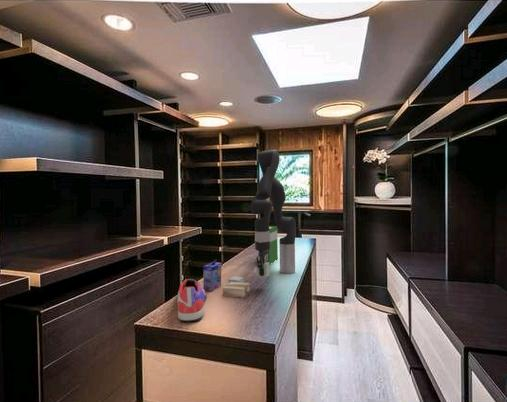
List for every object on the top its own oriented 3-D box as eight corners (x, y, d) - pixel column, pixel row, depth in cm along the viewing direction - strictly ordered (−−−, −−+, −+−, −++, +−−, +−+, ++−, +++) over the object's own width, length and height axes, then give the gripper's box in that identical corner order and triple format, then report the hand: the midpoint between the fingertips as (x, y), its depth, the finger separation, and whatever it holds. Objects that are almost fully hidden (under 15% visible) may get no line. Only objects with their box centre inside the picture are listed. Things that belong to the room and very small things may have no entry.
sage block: (260, 273, 147) (259, 261, 146) (269, 274, 145) (269, 262, 145) (257, 276, 142) (256, 264, 142) (266, 277, 140) (266, 264, 140)
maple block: (230, 289, 145) (230, 281, 145) (249, 291, 142) (249, 283, 142) (222, 296, 135) (222, 287, 135) (243, 298, 132) (242, 289, 132)
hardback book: (269, 265, 192) (269, 229, 191) (259, 264, 195) (258, 228, 194) (277, 259, 208) (277, 226, 208) (268, 258, 211) (267, 225, 210)
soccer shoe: (206, 290, 143) (205, 264, 143) (207, 322, 107) (206, 287, 107) (180, 292, 141) (180, 265, 141) (173, 325, 105) (172, 289, 105)
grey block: (233, 283, 154) (233, 276, 154) (244, 284, 152) (243, 277, 152) (228, 287, 149) (228, 279, 148) (238, 288, 146) (238, 280, 146)
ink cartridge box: (212, 291, 141) (212, 262, 141) (202, 290, 143) (202, 261, 143) (222, 285, 150) (221, 258, 150) (212, 284, 152) (212, 257, 152)
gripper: (259, 237, 151) (260, 269, 151) (250, 242, 137) (251, 277, 138) (273, 237, 148) (274, 270, 149) (265, 243, 135) (266, 279, 135)
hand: (263, 273), depth 143 cm, fingers closed on sage block, 5 cm apart
